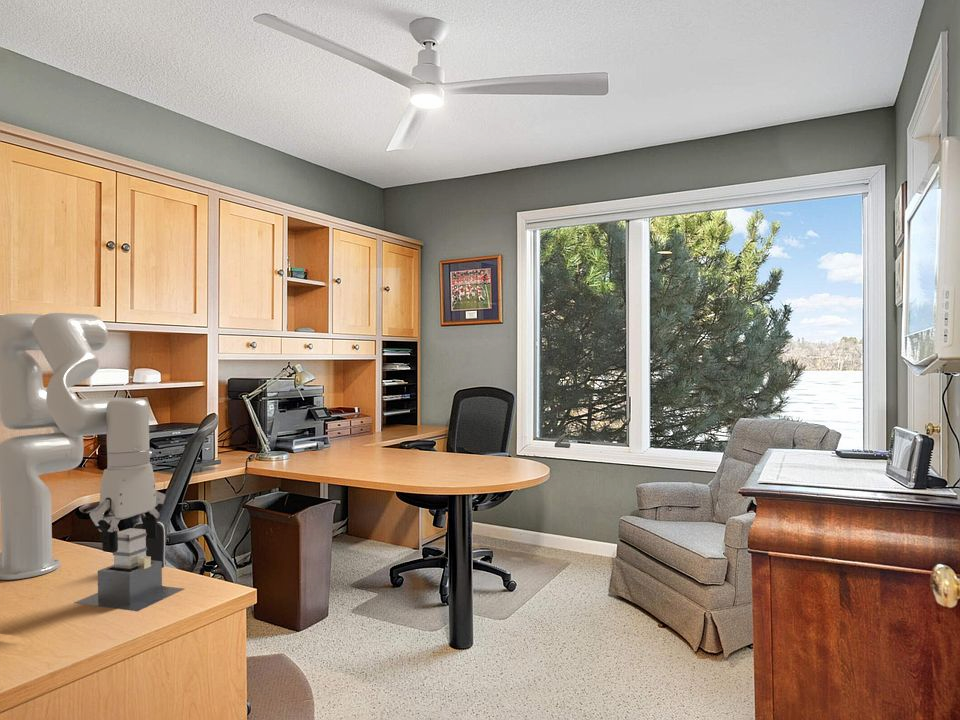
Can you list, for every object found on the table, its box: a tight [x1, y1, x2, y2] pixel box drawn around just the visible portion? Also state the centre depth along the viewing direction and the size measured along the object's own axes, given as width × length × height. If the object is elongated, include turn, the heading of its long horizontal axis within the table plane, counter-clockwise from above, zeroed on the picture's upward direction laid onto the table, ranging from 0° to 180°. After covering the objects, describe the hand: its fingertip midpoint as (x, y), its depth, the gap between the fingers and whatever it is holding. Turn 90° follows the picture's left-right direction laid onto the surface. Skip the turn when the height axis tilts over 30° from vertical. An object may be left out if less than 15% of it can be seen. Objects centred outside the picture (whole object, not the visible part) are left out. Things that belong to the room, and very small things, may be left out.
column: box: [112, 527, 147, 572], centre depth 126 cm, size 4×4×13 cm
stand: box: [73, 556, 185, 612], centre depth 126 cm, size 16×12×9 cm
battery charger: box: [132, 519, 168, 569], centre depth 145 cm, size 7×4×11 cm, turn 99°
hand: (130, 544), depth 126 cm, fingers open, 9 cm apart
